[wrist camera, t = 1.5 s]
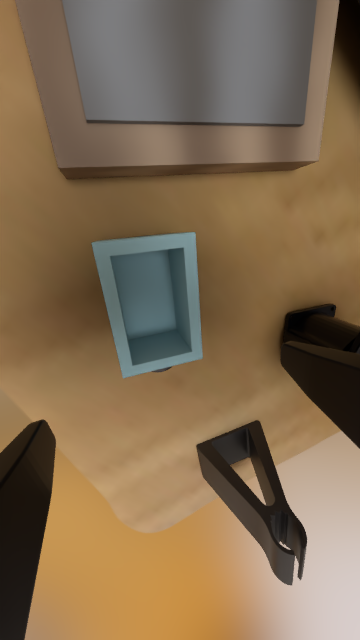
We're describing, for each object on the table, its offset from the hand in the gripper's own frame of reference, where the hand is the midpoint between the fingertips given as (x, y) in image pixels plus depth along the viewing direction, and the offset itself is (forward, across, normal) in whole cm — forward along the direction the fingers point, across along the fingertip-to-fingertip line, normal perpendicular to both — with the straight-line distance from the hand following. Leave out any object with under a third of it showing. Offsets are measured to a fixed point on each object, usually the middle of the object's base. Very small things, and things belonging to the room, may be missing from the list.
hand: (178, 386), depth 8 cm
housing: (+12, -1, 0) cm, 12 cm away
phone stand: (+12, -7, +23) cm, 27 cm away
